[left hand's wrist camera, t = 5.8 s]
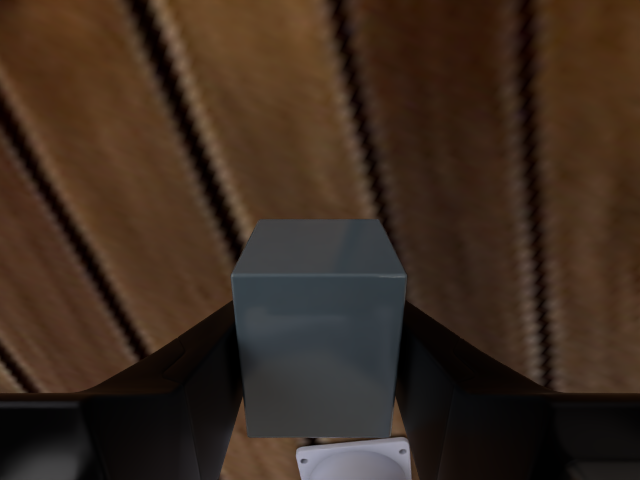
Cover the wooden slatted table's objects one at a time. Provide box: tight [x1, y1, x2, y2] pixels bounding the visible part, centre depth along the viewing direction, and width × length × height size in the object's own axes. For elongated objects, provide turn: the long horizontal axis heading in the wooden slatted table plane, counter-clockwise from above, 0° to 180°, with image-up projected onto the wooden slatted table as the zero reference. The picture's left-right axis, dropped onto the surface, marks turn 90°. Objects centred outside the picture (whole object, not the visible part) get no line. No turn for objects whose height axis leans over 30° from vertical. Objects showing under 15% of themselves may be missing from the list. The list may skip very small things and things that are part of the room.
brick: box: [231, 219, 408, 438], centre depth 11 cm, size 4×5×4 cm
